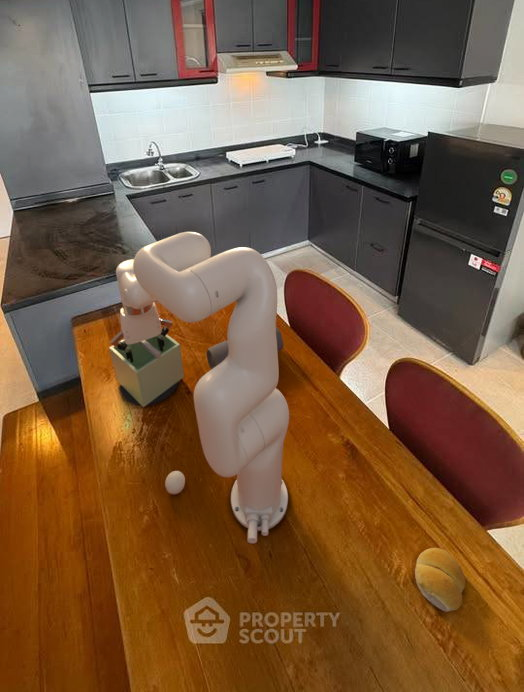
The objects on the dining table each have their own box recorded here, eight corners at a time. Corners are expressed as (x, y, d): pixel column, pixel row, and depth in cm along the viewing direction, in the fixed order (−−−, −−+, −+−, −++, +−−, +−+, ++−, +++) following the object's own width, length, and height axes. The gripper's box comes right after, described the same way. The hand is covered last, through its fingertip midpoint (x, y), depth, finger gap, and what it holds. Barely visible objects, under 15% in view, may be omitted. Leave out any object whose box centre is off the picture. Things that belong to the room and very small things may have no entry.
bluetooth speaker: (218, 386, 112) (216, 361, 107) (206, 365, 119) (204, 340, 115) (284, 359, 122) (285, 334, 117) (269, 341, 129) (270, 317, 125)
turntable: (173, 406, 106) (172, 403, 105) (112, 405, 106) (111, 403, 105) (184, 360, 121) (184, 358, 121) (131, 360, 121) (131, 357, 121)
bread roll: (466, 571, 73) (471, 560, 71) (456, 623, 66) (462, 613, 64) (422, 541, 77) (425, 530, 75) (408, 587, 70) (412, 577, 69)
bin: (116, 380, 112) (107, 342, 106) (156, 353, 122) (150, 318, 116) (143, 407, 104) (135, 368, 98) (184, 376, 113) (179, 339, 107)
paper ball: (183, 498, 84) (182, 486, 82) (164, 498, 84) (161, 486, 82) (187, 478, 88) (185, 466, 86) (168, 478, 88) (166, 466, 86)
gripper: (165, 287, 108) (171, 335, 115) (100, 306, 100) (112, 356, 108) (173, 301, 102) (179, 351, 109) (105, 322, 94) (117, 374, 102)
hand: (146, 353), depth 109 cm, fingers open, 7 cm apart
